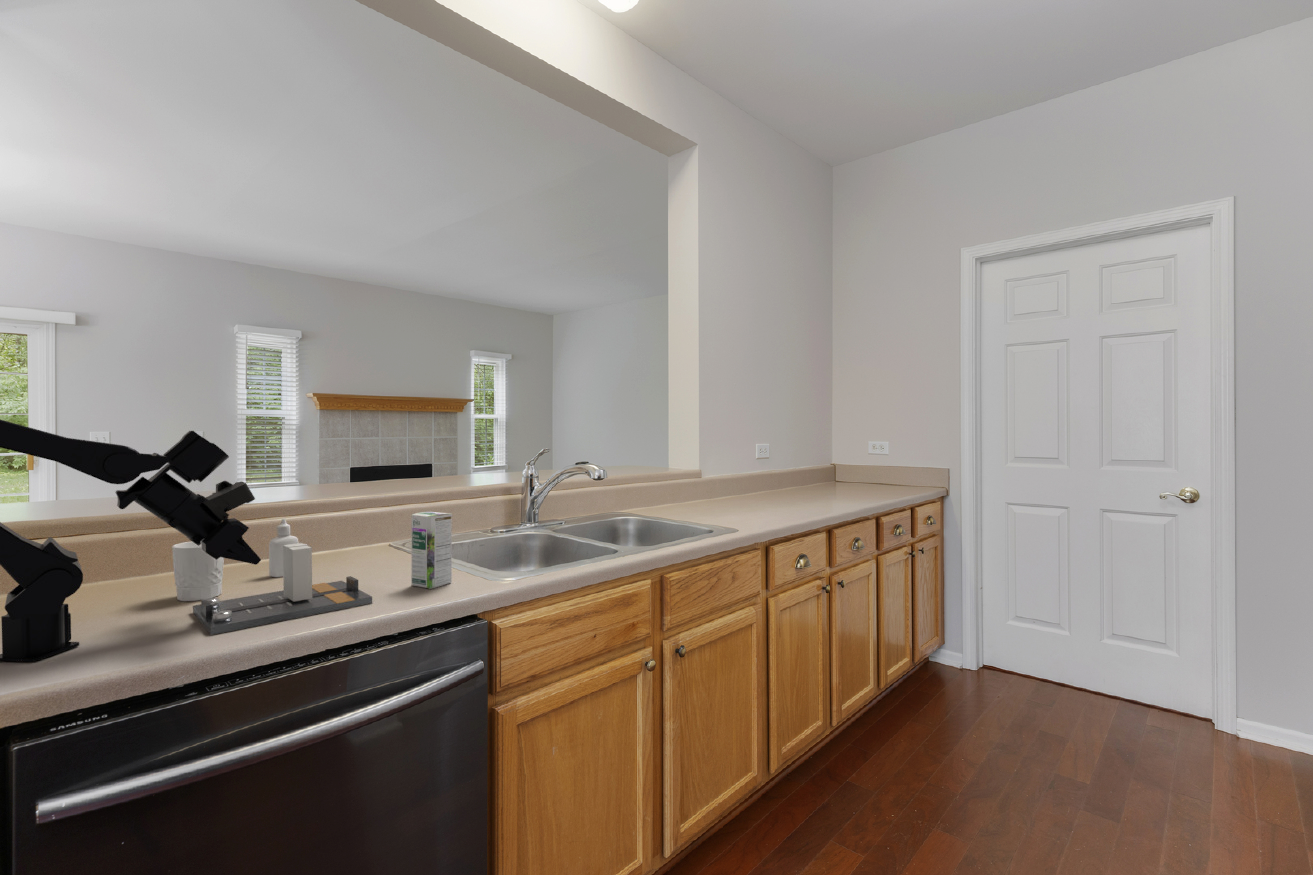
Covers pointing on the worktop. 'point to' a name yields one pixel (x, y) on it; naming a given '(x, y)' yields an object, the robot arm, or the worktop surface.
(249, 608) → the board
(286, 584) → the fader
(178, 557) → the white cup
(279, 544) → the eye dropper bottle
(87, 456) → the robot arm
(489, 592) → the worktop surface
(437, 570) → the syrup box
